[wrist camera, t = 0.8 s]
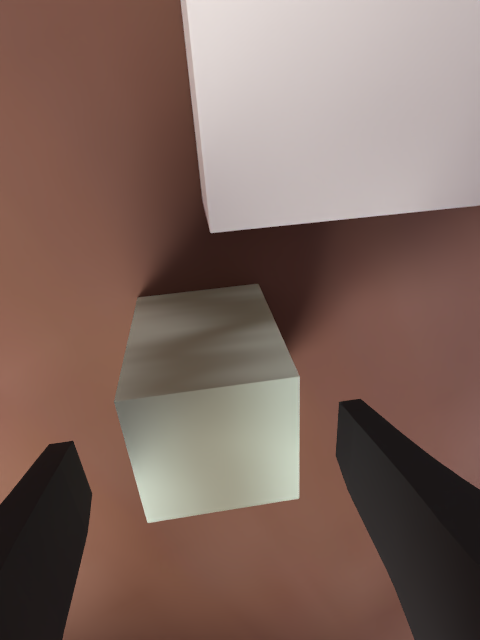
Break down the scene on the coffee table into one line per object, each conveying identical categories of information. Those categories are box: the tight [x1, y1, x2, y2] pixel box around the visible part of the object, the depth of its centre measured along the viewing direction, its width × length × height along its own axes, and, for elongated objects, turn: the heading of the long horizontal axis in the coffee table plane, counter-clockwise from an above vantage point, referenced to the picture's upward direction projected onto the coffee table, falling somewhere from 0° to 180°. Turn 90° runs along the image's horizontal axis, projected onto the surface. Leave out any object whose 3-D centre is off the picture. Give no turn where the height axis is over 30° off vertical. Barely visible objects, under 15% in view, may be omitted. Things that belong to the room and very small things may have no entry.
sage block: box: [114, 284, 300, 523], centre depth 13 cm, size 4×4×6 cm
